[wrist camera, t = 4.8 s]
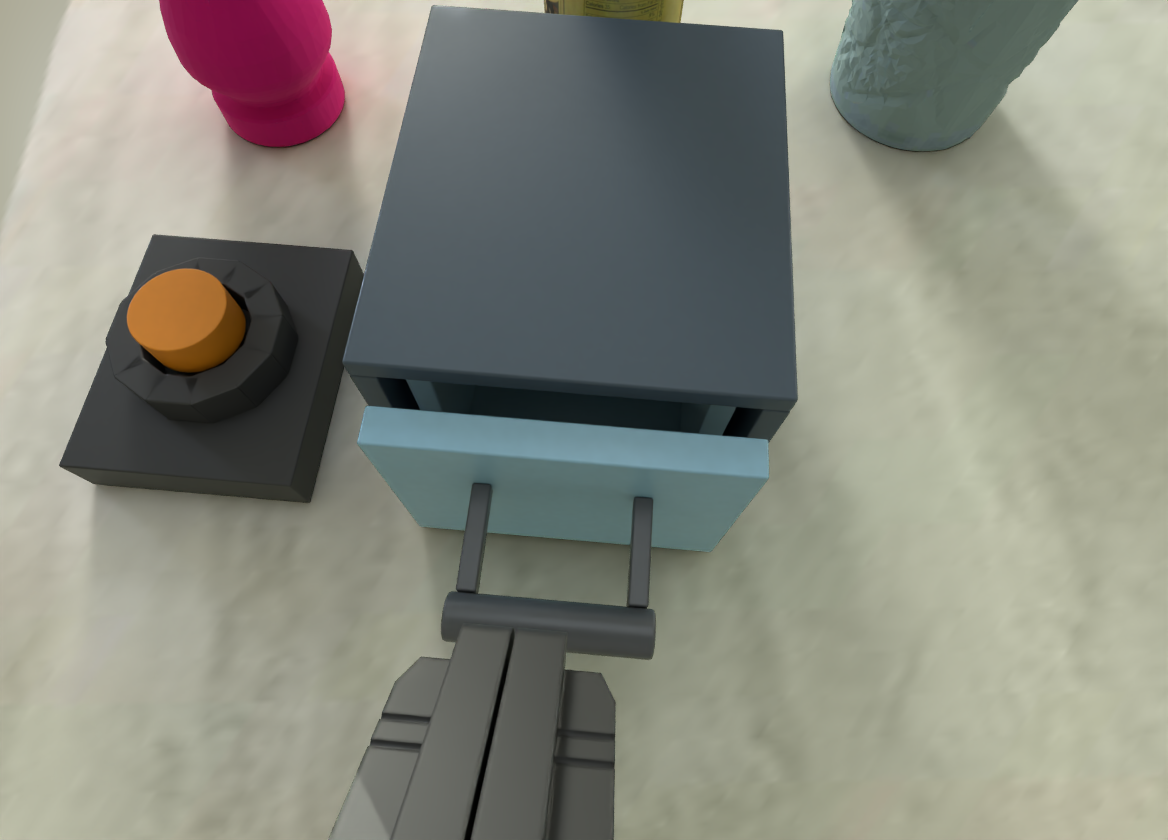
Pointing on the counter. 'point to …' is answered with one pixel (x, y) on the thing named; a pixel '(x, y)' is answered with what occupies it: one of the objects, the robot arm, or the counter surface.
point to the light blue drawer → (564, 490)
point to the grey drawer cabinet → (587, 217)
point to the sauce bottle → (619, 9)
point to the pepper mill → (261, 64)
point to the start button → (186, 320)
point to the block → (226, 379)
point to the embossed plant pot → (934, 65)
